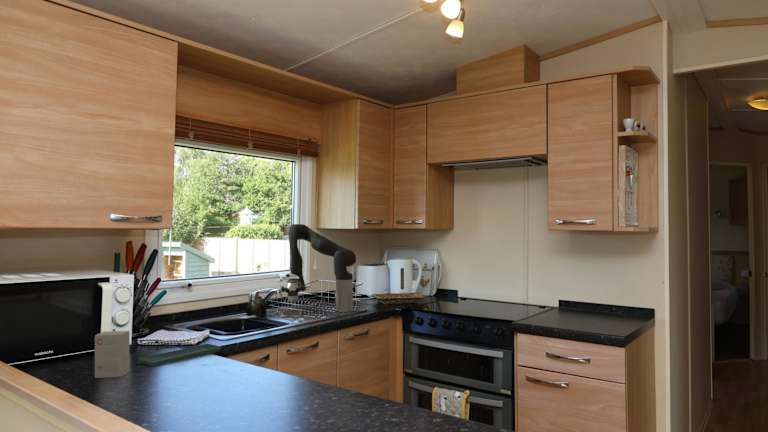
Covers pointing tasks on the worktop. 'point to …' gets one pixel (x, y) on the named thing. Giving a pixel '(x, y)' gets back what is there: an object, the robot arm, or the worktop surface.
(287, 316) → the base board
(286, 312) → the mount ring
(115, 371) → the small box
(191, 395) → the worktop surface
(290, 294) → the lens
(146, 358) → the dark green board
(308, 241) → the robot arm
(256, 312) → the camera
